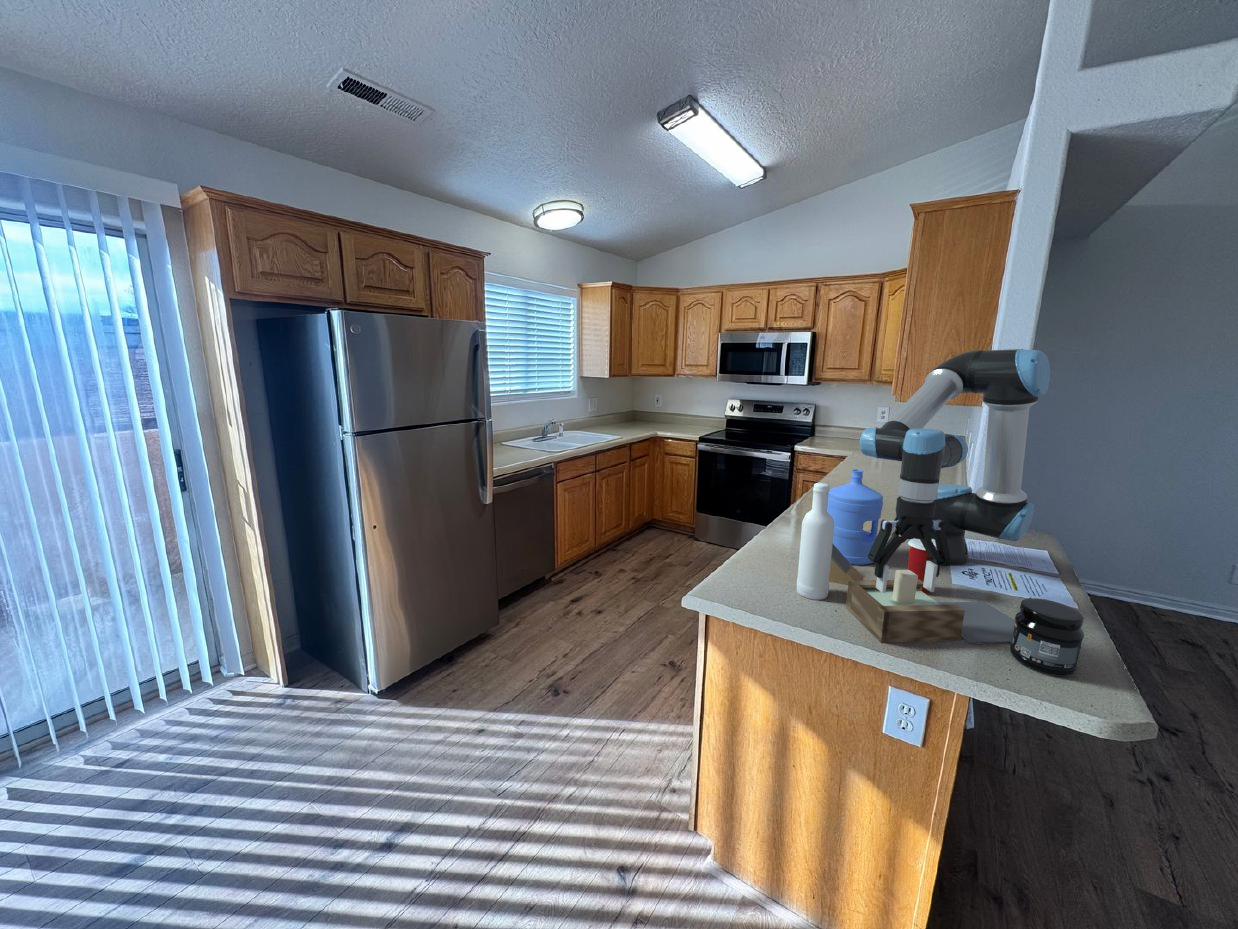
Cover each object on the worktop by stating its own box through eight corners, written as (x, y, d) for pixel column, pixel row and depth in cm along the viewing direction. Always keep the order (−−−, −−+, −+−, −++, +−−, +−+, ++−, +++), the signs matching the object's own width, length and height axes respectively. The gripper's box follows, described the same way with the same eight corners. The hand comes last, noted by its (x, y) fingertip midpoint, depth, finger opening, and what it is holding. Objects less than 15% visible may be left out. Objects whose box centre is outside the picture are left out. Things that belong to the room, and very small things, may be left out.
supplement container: (1043, 647, 105) (1053, 596, 103) (1091, 678, 95) (1103, 622, 92) (995, 648, 105) (1005, 596, 102) (1038, 679, 95) (1050, 622, 92)
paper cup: (931, 585, 134) (938, 538, 132) (939, 598, 127) (946, 547, 124) (899, 581, 137) (905, 534, 134) (905, 593, 130) (911, 544, 127)
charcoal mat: (984, 603, 125) (984, 601, 125) (1047, 642, 107) (1047, 640, 107) (915, 604, 124) (916, 602, 124) (968, 644, 106) (968, 642, 106)
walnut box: (915, 606, 123) (919, 579, 121) (959, 640, 108) (964, 610, 106) (845, 608, 122) (848, 580, 120) (880, 642, 107) (884, 611, 105)
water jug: (822, 561, 151) (830, 473, 145) (822, 544, 165) (829, 463, 160) (878, 569, 145) (889, 478, 140) (873, 551, 159) (883, 467, 154)
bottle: (834, 595, 128) (845, 485, 122) (815, 603, 124) (826, 489, 118) (808, 584, 135) (817, 479, 129) (789, 591, 131) (798, 483, 125)
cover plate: (915, 590, 120) (920, 561, 119) (953, 617, 108) (958, 584, 106) (856, 591, 120) (860, 562, 118) (887, 618, 107) (891, 585, 105)
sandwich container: (861, 589, 133) (866, 537, 130) (802, 576, 140) (806, 527, 137) (863, 577, 140) (869, 528, 137) (807, 566, 148) (811, 519, 145)
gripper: (954, 493, 113) (941, 581, 117) (857, 494, 112) (847, 583, 116) (979, 502, 105) (964, 596, 110) (875, 503, 104) (864, 598, 109)
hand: (904, 589), depth 113 cm, fingers open, 11 cm apart
